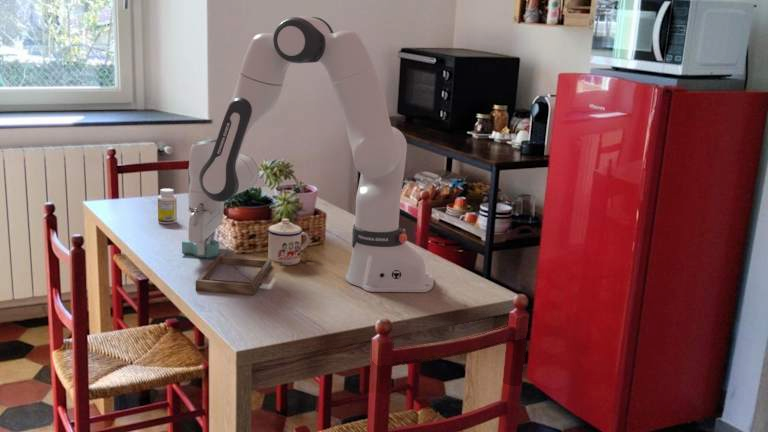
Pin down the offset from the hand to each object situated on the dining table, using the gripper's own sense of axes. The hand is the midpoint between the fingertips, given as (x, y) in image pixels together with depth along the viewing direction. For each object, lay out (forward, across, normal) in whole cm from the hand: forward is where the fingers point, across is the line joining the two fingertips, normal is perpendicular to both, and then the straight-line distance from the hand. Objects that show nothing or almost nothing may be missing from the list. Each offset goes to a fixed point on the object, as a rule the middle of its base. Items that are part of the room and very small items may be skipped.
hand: (205, 250), depth 218 cm
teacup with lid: (+2, +3, -22) cm, 22 cm away
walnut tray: (+2, -16, -12) cm, 20 cm away
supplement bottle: (+2, +31, +21) cm, 38 cm away
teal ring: (+1, 0, +1) cm, 2 cm away
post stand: (+2, 0, 0) cm, 2 cm away
